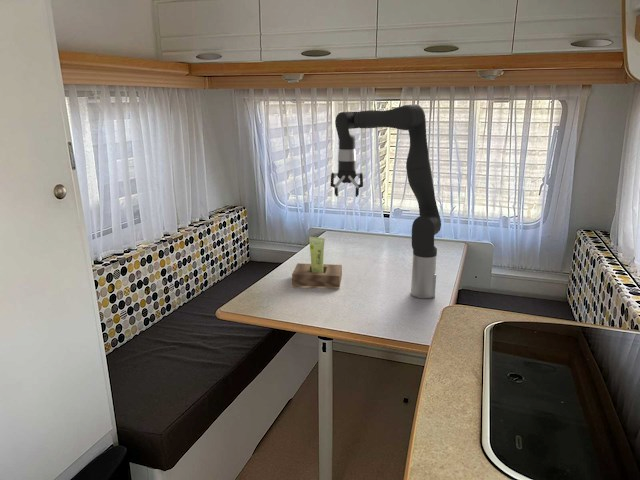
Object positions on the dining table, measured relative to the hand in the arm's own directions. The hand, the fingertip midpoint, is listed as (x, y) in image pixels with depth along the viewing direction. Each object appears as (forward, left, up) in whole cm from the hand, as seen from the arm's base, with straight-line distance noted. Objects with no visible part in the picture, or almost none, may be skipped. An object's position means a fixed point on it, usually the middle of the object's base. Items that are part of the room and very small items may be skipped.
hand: (346, 196), depth 212 cm
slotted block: (+11, +16, -35) cm, 40 cm away
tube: (+12, +16, -34) cm, 39 cm away
